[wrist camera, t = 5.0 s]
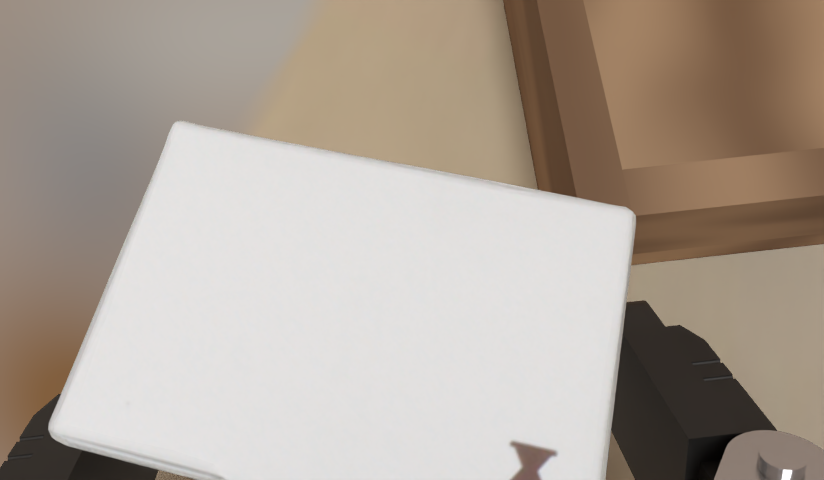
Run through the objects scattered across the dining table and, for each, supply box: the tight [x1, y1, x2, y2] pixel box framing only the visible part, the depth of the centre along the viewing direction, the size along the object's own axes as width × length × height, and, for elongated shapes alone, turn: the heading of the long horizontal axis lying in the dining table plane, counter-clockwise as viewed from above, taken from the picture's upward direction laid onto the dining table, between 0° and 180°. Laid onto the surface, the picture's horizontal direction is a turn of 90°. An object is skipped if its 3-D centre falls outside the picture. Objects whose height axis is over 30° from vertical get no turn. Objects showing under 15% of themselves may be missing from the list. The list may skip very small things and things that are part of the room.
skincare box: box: [48, 121, 636, 480], centre depth 14 cm, size 6×4×12 cm
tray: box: [503, 0, 824, 265], centre depth 21 cm, size 14×12×4 cm
